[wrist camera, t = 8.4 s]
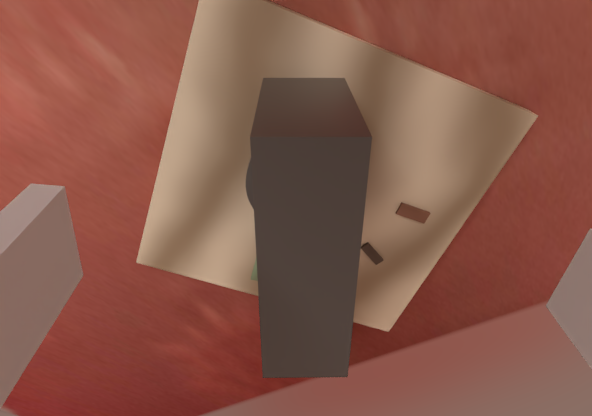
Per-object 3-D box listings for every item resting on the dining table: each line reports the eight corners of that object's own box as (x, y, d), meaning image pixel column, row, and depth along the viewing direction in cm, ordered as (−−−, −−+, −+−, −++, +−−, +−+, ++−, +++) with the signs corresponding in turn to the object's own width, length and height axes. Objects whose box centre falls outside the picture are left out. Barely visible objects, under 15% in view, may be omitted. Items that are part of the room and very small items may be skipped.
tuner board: (141, 251, 29) (135, 264, 28) (209, -25, 21) (204, -24, 19) (385, 320, 33) (389, 333, 32) (527, 109, 24) (540, 117, 23)
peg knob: (241, 72, 22) (213, 136, 14) (365, 72, 22) (408, 136, 14) (254, 292, 29) (241, 416, 21) (346, 292, 29) (366, 415, 21)
